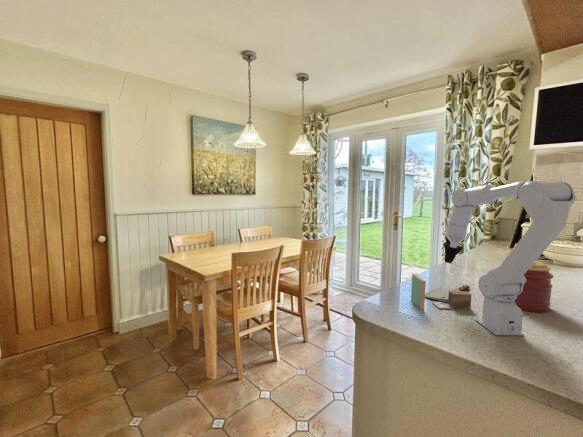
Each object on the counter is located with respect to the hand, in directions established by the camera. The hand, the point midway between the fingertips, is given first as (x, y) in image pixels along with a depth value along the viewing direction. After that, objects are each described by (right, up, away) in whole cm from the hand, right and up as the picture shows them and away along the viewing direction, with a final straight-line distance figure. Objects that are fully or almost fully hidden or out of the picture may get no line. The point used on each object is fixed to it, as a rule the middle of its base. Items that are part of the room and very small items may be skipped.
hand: (448, 257), depth 104 cm
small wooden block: (-2, -16, -5) cm, 17 cm away
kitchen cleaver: (+4, -15, +7) cm, 17 cm away
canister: (+25, -16, -3) cm, 30 cm away
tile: (-13, -11, -4) cm, 18 cm away
